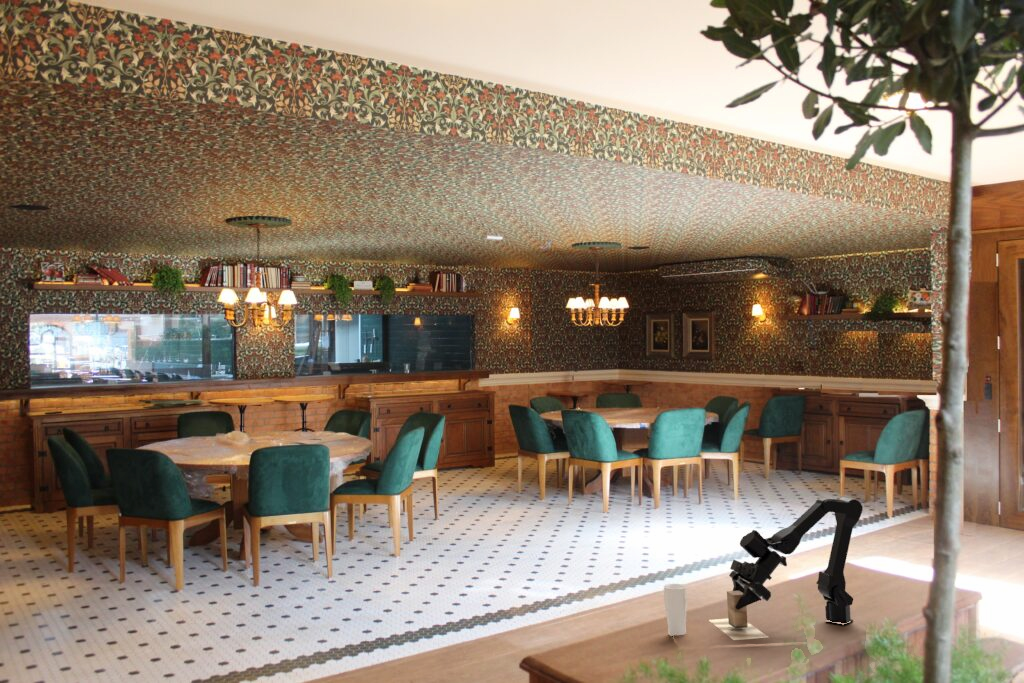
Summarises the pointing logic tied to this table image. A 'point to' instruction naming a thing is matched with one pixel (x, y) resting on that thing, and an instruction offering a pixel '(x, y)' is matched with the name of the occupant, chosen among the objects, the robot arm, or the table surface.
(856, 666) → the table surface
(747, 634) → the board
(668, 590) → the drinking glass
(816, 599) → the table surface
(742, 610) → the block
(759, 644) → the table surface
